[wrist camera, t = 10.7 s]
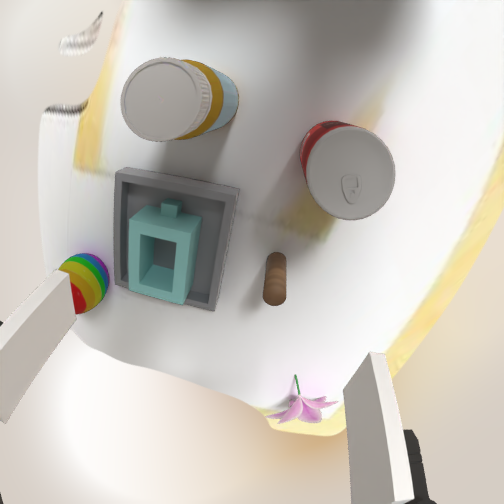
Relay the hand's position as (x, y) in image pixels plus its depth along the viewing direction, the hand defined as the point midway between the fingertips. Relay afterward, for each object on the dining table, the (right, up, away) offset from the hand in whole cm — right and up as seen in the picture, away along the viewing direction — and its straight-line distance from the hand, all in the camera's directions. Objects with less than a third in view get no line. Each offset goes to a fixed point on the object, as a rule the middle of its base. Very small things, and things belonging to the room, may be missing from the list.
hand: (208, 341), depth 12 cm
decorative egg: (-23, +1, +32) cm, 40 cm away
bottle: (-3, +21, +20) cm, 29 cm away
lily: (+11, -21, +40) cm, 46 cm away
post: (+5, +2, +28) cm, 28 cm away
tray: (-9, +6, +28) cm, 30 cm away
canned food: (+11, +15, +21) cm, 28 cm away
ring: (-9, +4, +28) cm, 29 cm away
